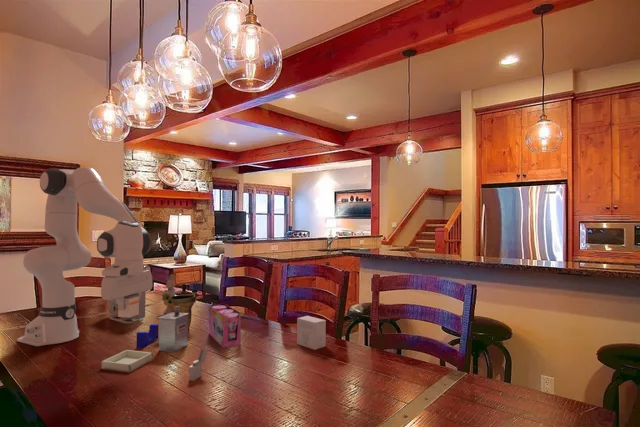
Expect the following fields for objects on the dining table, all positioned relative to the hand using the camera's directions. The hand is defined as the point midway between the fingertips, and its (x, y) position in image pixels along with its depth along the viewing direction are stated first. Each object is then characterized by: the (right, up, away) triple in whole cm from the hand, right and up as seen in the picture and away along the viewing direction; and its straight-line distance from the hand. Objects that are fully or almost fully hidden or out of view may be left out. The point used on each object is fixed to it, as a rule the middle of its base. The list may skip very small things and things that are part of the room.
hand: (128, 307), depth 129 cm
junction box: (+9, -20, +16) cm, 27 cm away
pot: (+3, -20, +39) cm, 44 cm away
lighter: (+27, -20, -10) cm, 35 cm away
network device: (-31, -20, +57) cm, 68 cm away
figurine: (-14, -21, +71) cm, 75 cm away
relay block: (0, -3, 0) cm, 3 cm away
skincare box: (+63, -20, +20) cm, 69 cm away
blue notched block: (-4, -20, +22) cm, 30 cm away
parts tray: (0, -19, 0) cm, 19 cm away
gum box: (+26, -20, +26) cm, 42 cm away
